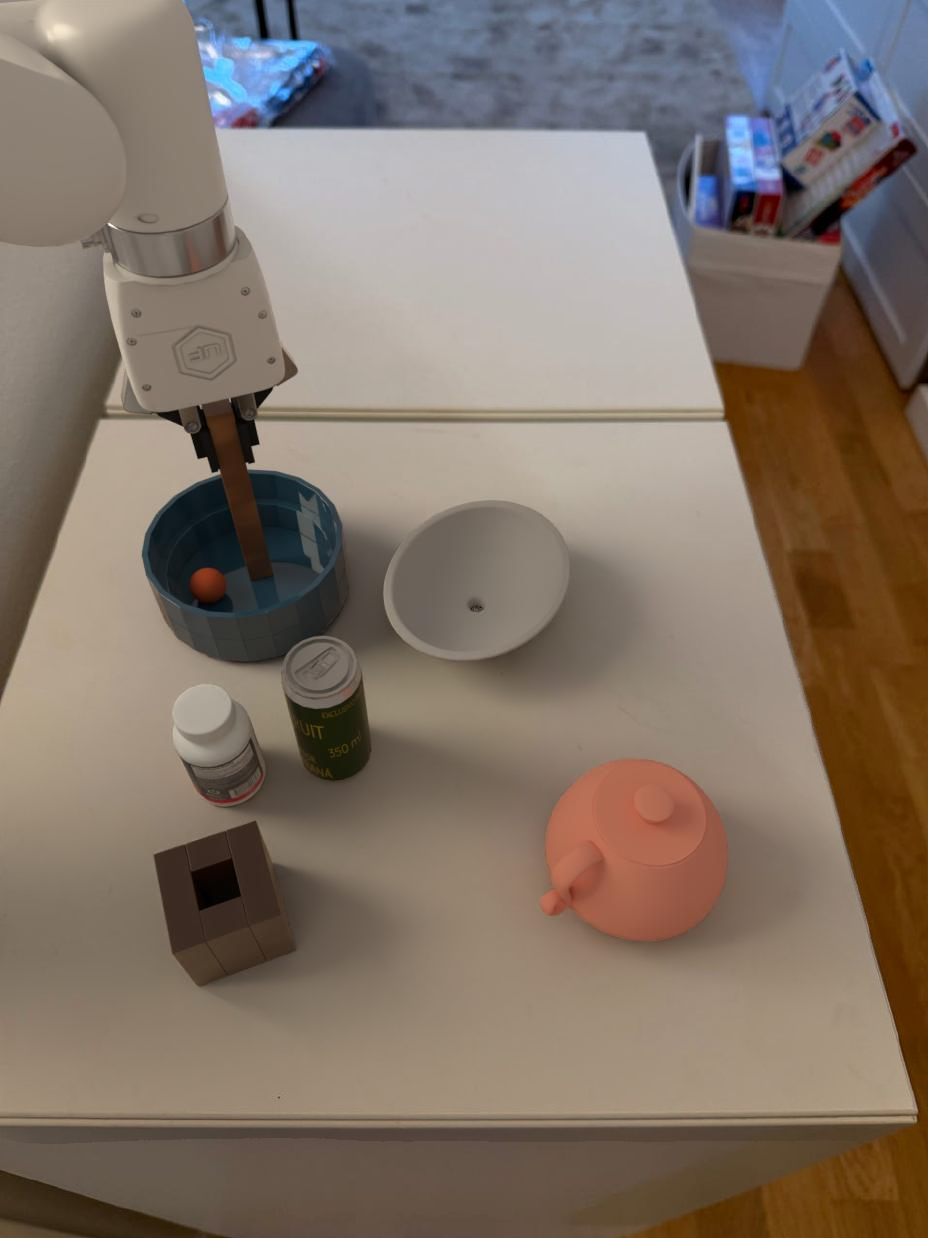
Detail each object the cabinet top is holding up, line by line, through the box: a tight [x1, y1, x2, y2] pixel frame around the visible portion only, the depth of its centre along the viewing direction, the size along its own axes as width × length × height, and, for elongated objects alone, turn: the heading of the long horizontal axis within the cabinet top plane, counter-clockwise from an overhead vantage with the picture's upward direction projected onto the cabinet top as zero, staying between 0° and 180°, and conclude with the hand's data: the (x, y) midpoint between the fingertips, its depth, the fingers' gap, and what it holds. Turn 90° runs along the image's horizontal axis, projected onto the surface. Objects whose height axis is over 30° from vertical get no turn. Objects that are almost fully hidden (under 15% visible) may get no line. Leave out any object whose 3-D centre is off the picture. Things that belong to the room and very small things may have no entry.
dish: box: [382, 499, 572, 663], centre depth 77 cm, size 18×14×5 cm
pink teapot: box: [539, 758, 729, 942], centre depth 61 cm, size 12×14×10 cm
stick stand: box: [152, 820, 297, 988], centre depth 60 cm, size 7×7×7 cm
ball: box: [189, 568, 226, 603], centre depth 77 cm, size 3×3×3 cm
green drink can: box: [280, 635, 373, 783], centre depth 66 cm, size 5×5×12 cm
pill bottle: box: [171, 683, 267, 808], centre depth 65 cm, size 5×5×10 cm
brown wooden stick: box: [200, 398, 273, 581], centre depth 73 cm, size 2×2×18 cm
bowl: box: [141, 468, 350, 662], centre depth 77 cm, size 16×16×6 cm
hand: (229, 454), depth 70 cm, fingers closed on brown wooden stick, 2 cm apart
